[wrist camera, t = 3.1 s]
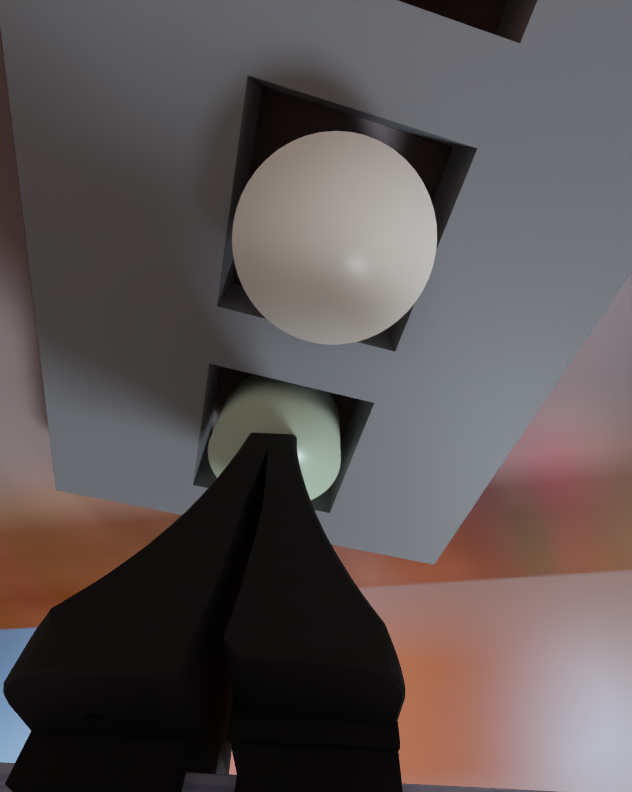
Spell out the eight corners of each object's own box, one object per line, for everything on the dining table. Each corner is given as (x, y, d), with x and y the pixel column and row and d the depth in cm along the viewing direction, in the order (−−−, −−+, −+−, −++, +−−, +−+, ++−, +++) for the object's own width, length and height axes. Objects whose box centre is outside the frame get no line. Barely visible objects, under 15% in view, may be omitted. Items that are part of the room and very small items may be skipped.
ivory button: (446, 163, 9) (473, 169, 7) (384, 328, 11) (394, 363, 9) (266, 107, 8) (250, 98, 7) (237, 290, 11) (219, 319, 9)
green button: (354, 386, 13) (358, 423, 11) (322, 474, 15) (321, 516, 14) (231, 356, 13) (216, 390, 11) (216, 451, 15) (200, 492, 13)
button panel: (953, -359, 6) (1179, -542, 5) (423, 523, 17) (434, 564, 16) (4, -867, 5) (-172, -1415, 3) (85, 452, 16) (56, 489, 14)
